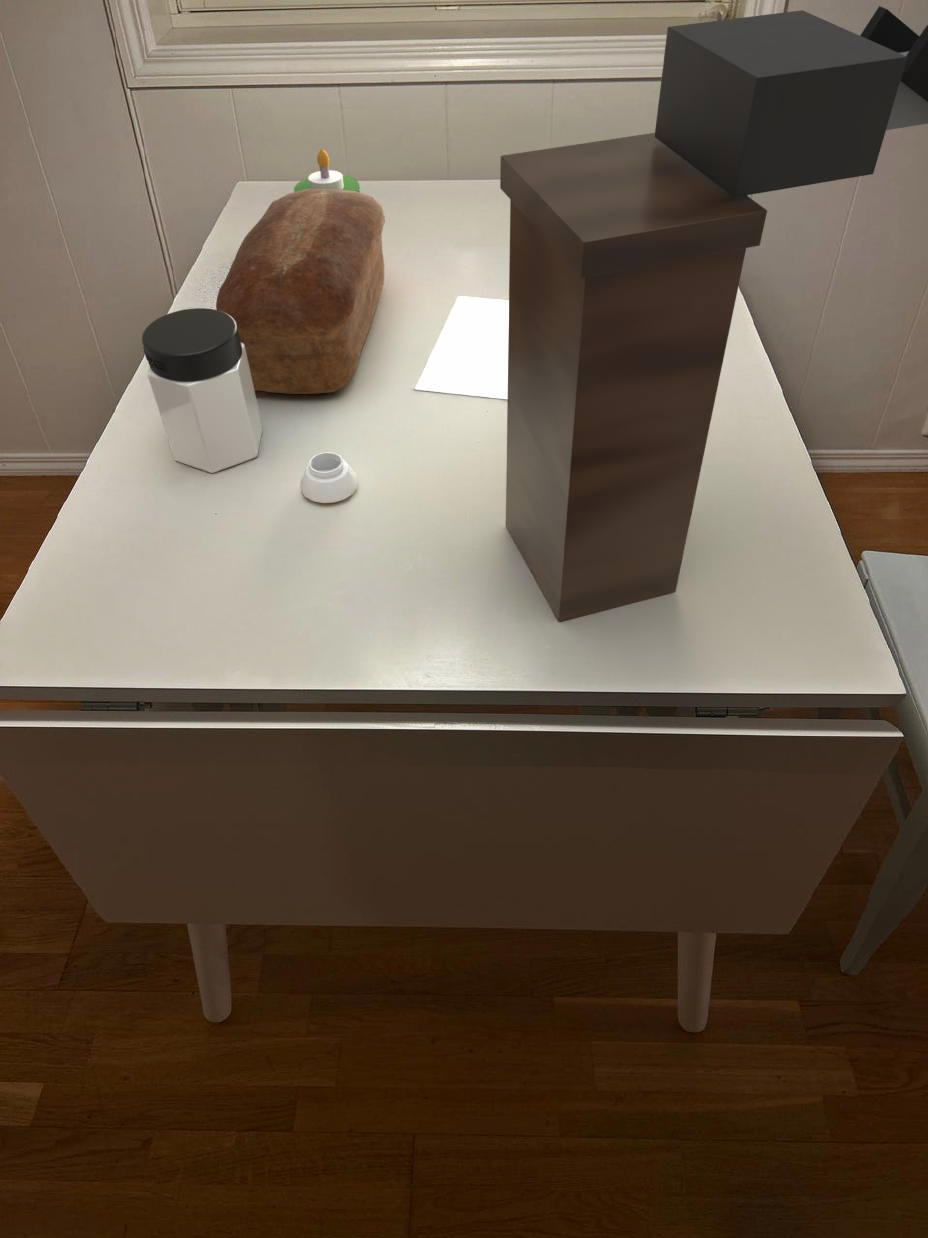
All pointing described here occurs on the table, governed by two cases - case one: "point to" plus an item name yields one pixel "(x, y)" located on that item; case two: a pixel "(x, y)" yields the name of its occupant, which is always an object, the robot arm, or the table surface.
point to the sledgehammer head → (780, 101)
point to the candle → (327, 178)
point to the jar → (203, 388)
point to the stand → (613, 360)
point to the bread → (307, 289)
